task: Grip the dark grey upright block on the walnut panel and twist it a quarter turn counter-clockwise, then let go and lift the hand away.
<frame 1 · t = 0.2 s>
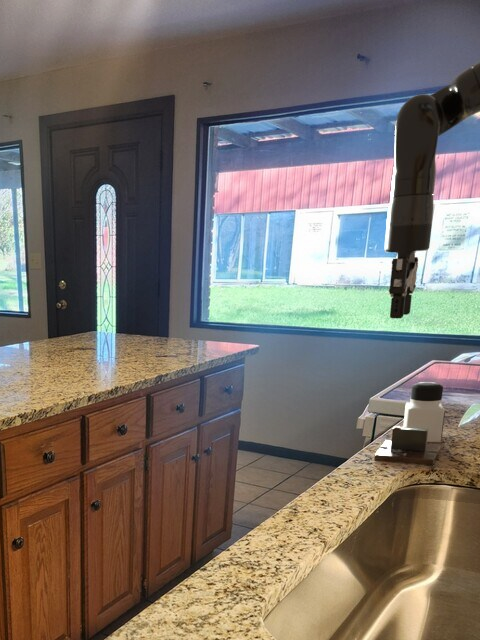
hand: (400, 316, 129), 27 cm above the worktop, tool pointing down, fingers open, 8 cm apart
medicine bottle: (421, 439, 149), on the worktop
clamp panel: (406, 464, 132), on the worktop
dark grey upright block: (409, 438, 130), point 5 cm above the worktop, hinge at 0.0°
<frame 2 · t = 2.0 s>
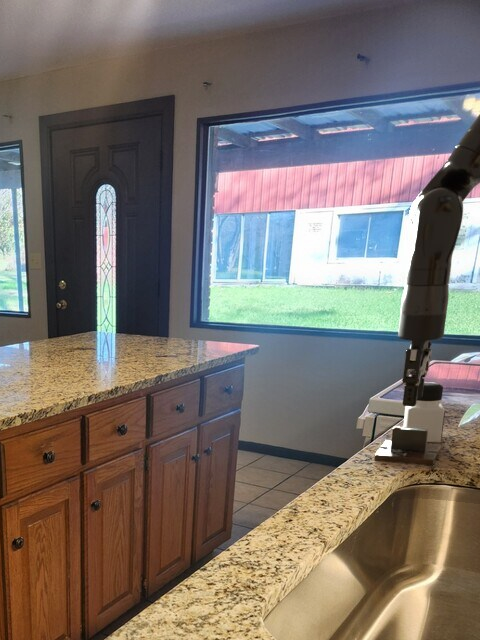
hand: (412, 401, 128), 12 cm above the worktop, tool pointing down, fingers open, 8 cm apart
nothing on the worktop moved.
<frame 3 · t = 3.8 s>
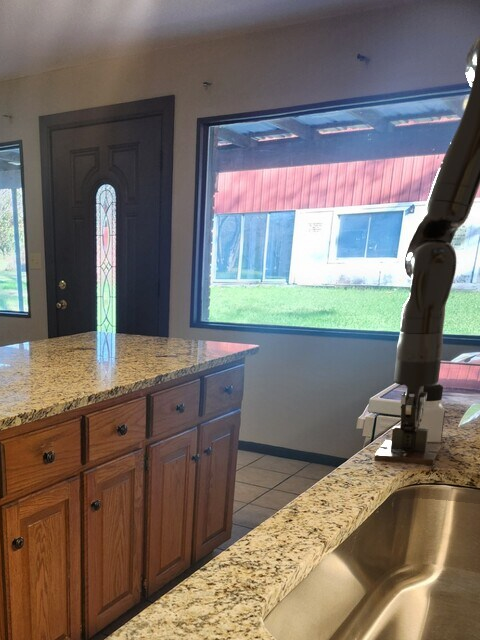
hand: (408, 449, 131), 3 cm above the worktop, tool pointing down, fingers closed on dark grey upright block, 2 cm apart
dark grey upright block: (409, 438, 130), point 5 cm above the worktop, hinge at 0.0°, touching gripper
everything else where it was.
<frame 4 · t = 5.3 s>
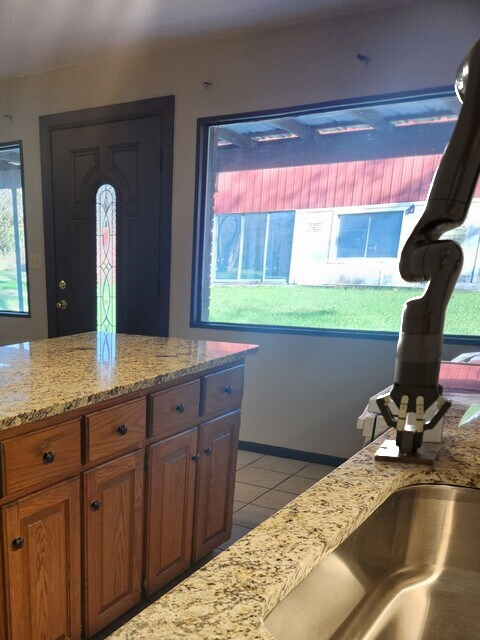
hand: (407, 449, 130), 3 cm above the worktop, tool pointing down, fingers closed, pressing on dark grey upright block, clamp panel
dark grey upright block: (409, 438, 130), point 5 cm above the worktop, hinge at 90.0°, touching gripper
everything else where it was.
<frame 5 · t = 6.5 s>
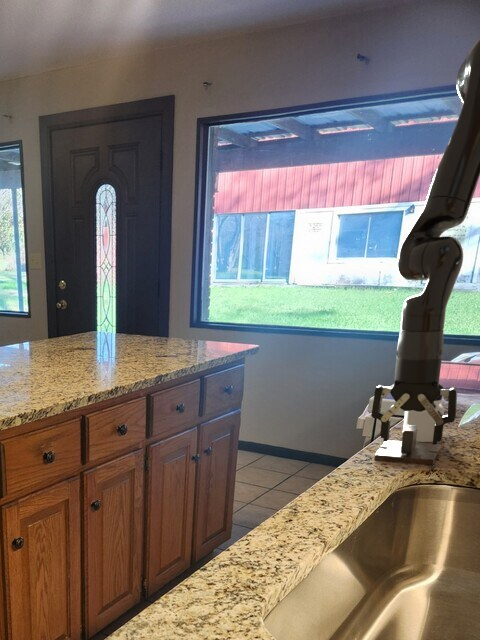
hand: (409, 442, 130), 5 cm above the worktop, tool pointing down, fingers open, 8 cm apart
dark grey upright block: (409, 438, 130), point 5 cm above the worktop, hinge at 90.0°
everything else where it was.
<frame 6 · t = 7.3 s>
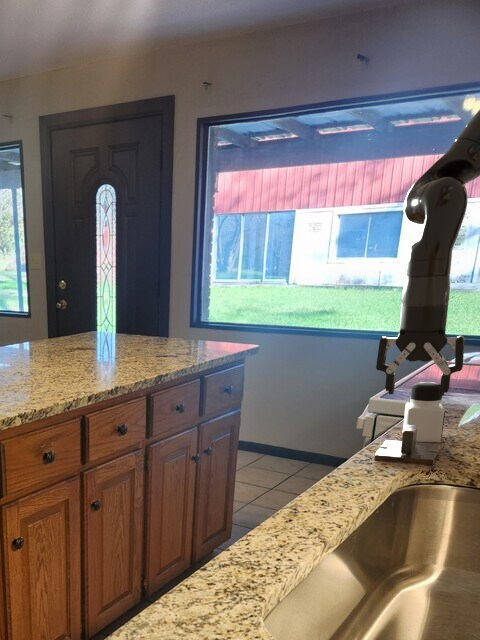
hand: (415, 394, 126), 14 cm above the worktop, tool pointing down, fingers open, 8 cm apart
nothing on the worktop moved.
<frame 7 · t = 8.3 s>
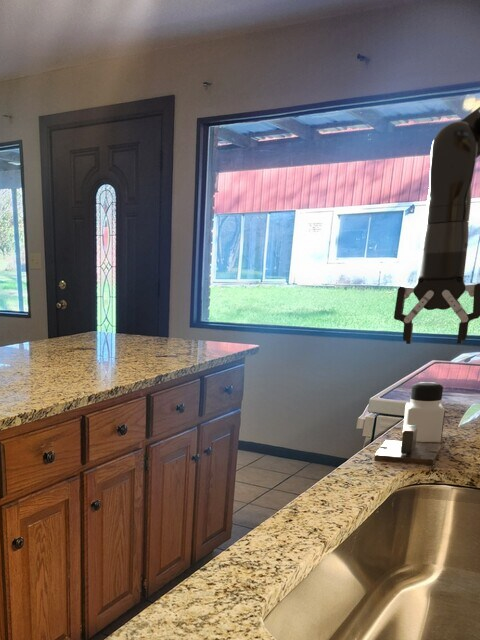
hand: (433, 343, 127), 22 cm above the worktop, tool pointing down, fingers open, 8 cm apart
nothing on the worktop moved.
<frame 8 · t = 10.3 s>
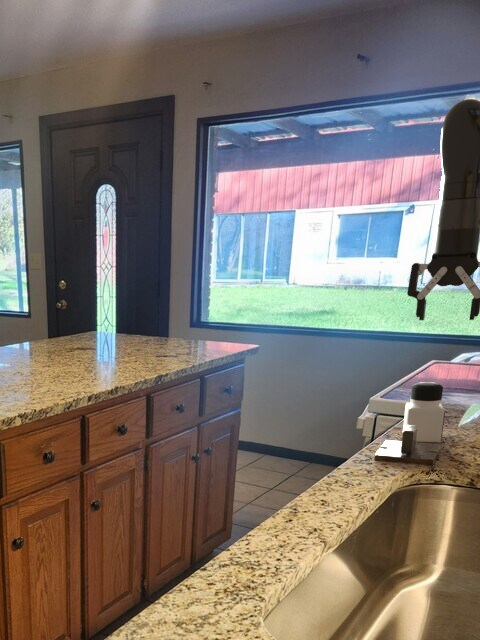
hand: (446, 319, 129), 26 cm above the worktop, tool pointing down, fingers open, 8 cm apart
nothing on the worktop moved.
at the end: dark grey upright block at +90° (first picture: +0°); the gripper is holding nothing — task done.
